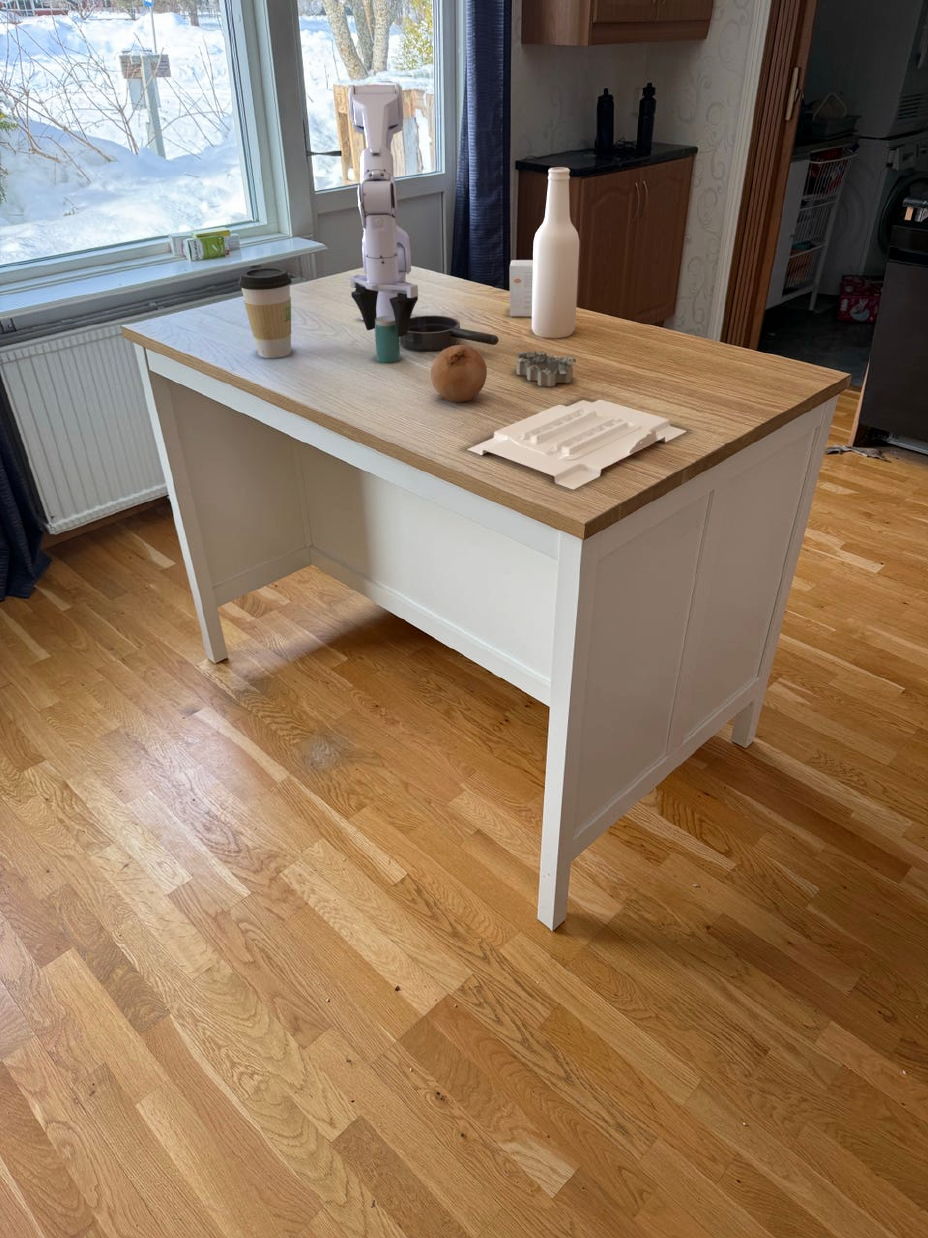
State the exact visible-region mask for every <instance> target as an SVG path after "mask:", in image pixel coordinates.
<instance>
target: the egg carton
mask: <svg viewBox="0 0 928 1238" xmlns="http://www.w3.org/2000/svg"><path fill="white" fill-rule="evenodd" d="M513 354H514V356H515V358H516V359H517V360H516V375H518V376H526V380H527V381H530V382H533V381H534V382H535V381H536V382H537V385H538V386H539V387H550V388H551V387H555V386H556V384H558V383H563V384H569V383H571V382H572V381H571V380H572V378H573V365H574V364H575V363H577V359H576V358H574V357H571V356H566V357H563V356H560V357H559V356H558V355H552V354H547V352H545V351H543V350H542V351H540V352H539V353H537V351H536V350H534V351H532V352H531V351H528V352H524V351H522V352H521V353H517V352H513Z"/></svg>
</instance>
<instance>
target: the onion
mask: <svg viewBox="0 0 928 1238" xmlns="http://www.w3.org/2000/svg"><path fill="white" fill-rule="evenodd" d="M487 370H488V369H487V364H486V362H485V359H484V358H483V356H482V354H481V353H480V352H479V351H477V350H476V349H475V348H473V347H471V346H470V345H469V346H468V345H464V344H456V345H454V346H451V347H448V348H446V349H443V350H441V351H440V352H439V354H437V356H436V357H435V358H434V360H433V361H432V363H431V368H430V381H431V384H432V387H433V388H434V390H435V392H436V393H437V396H438V397H439V398H440V399H442V400H443V399H444V400H448V401H451V402H455V403H463V402H469V401H471V400H472V399H474V398H475V397H477V396H478V395H479V393H480V392H481V391H482V389H483V388H484V386H485V384H486V381H487V375H488V372H487Z"/></svg>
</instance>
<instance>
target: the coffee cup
mask: <svg viewBox="0 0 928 1238" xmlns="http://www.w3.org/2000/svg"><path fill="white" fill-rule="evenodd" d="M292 283H293V280H292V278H291V276H290V275H289V273H288V271H287V269H285V268H281V267H274V266H273V267H271V266H265V267H255V268H249V269H246V270H243V271H241V273H240V278H239V280H238V288H241V292H242V295H243V299H244V300H243V303H244V307H245V310H246V314H247V318H248V321H249V325H250V329H251V333H252V337H253V338H254V341H255V345H256V349H257V353H258V356H259V357H261V358H265V359H278V358H283V357H287V356H288V355H290V354H291V353H292V335H291V334H292V297H291V284H292Z"/></svg>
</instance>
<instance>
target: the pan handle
mask: <svg viewBox="0 0 928 1238" xmlns="http://www.w3.org/2000/svg"><path fill="white" fill-rule="evenodd" d="M451 335H452V336H453V337H456V338H460V340H461V339H462V340H466V341H471V342H477V343H480V344H487V345H491V346H496V345H497V344H498V343H499V337H498V336H497V335H496V334H491V333H486V332H480V331H476V330H470V329H466V328H461V327H460V328H456V327H454V328H452V329H451Z"/></svg>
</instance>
